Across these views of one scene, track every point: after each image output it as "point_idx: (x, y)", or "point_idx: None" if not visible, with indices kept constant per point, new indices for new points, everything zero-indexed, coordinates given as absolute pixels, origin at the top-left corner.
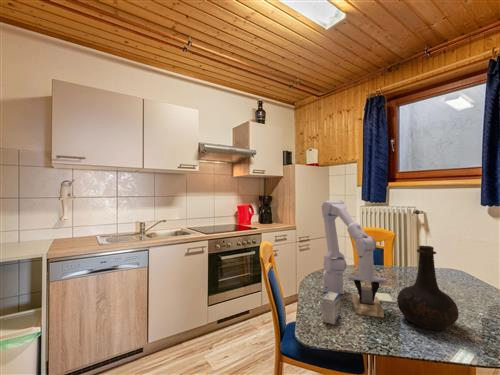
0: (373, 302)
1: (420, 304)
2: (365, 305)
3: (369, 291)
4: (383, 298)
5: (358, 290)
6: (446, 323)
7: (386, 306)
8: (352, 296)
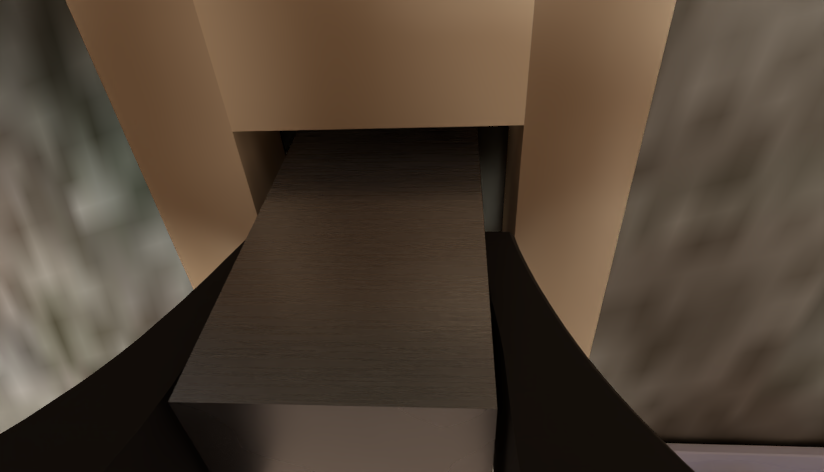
0: None
1: None
2: (419, 69)
3: (263, 372)
4: None
5: (588, 380)
6: None
7: (156, 288)
8: None
